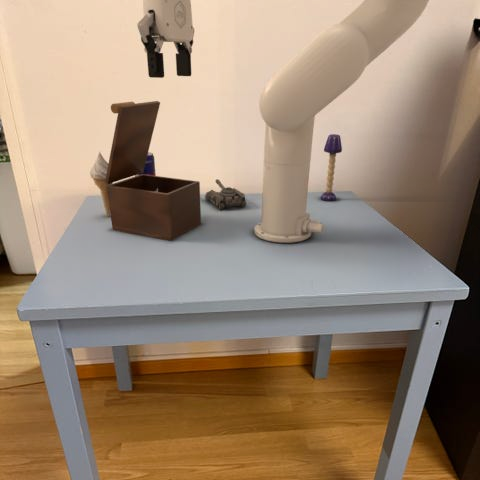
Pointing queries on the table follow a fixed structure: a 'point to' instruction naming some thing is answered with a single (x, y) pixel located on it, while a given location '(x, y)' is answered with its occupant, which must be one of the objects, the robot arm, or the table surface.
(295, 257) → the table surface
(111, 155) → the chest lid
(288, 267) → the table surface
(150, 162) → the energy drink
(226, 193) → the tank toy
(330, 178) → the toy lamp
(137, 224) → the chest
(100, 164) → the ice cream cone
